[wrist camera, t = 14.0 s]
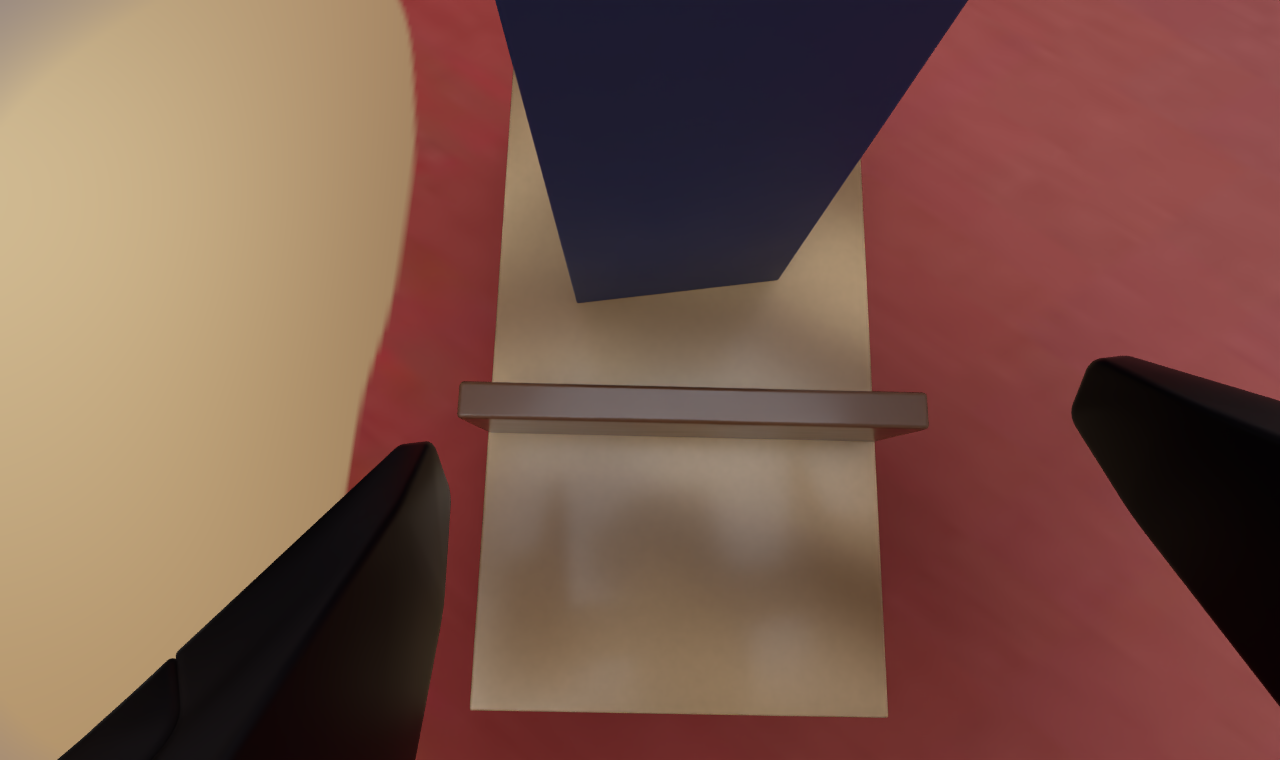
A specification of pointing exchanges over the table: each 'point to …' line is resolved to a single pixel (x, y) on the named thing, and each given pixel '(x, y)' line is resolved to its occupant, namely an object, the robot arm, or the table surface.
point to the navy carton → (705, 125)
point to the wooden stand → (681, 482)
